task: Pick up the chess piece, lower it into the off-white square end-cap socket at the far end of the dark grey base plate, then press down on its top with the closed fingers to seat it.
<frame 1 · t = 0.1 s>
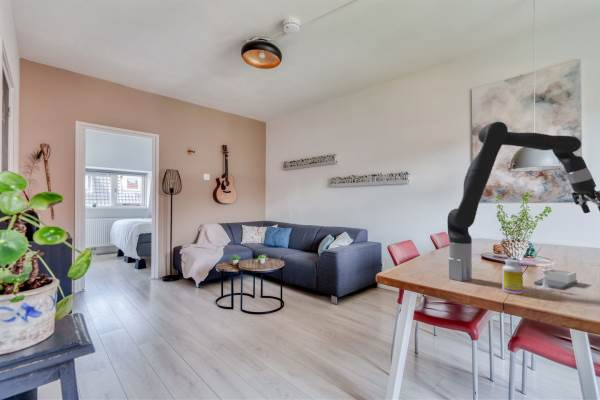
hand: (595, 213, 128), 31 cm above the table, tool tilted 20°, fingers open, 8 cm apart
supplement bottle: (512, 292, 116), on the table
chess piece: (545, 290, 119), on the table
end cap plate: (555, 283, 128), on the table
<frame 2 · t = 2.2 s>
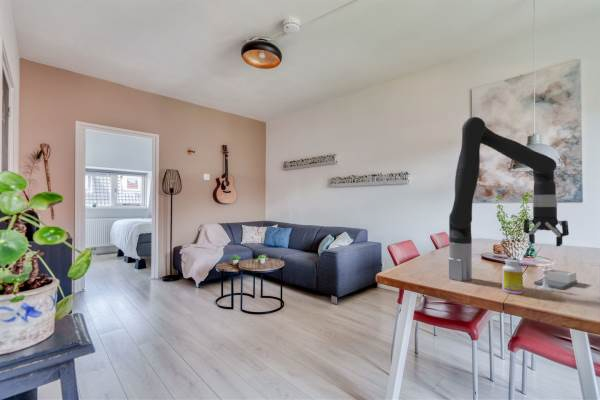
hand: (545, 244, 119), 19 cm above the table, tool pointing down, fingers open, 8 cm apart
nothing on the table moved.
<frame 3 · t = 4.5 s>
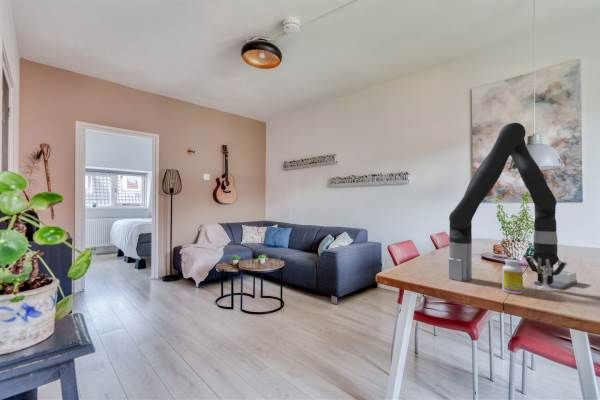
hand: (545, 283, 119), 3 cm above the table, tool pointing down, fingers closed on chess piece
chess piece: (545, 290, 119), on the table, touching gripper
everything else where it was.
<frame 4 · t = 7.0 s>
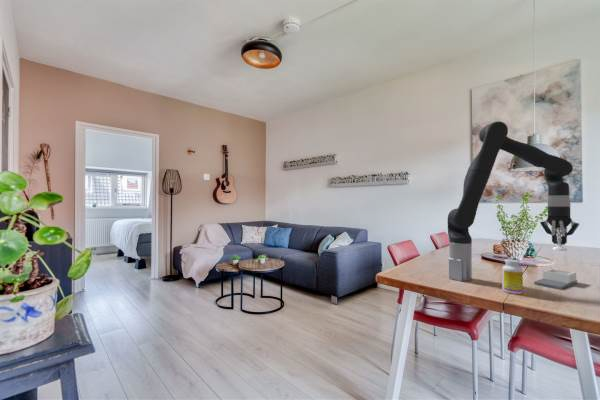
hand: (559, 244, 128), 18 cm above the table, tool pointing down, fingers closed on chess piece
chess piece: (559, 250, 128), point 15 cm above the table, touching gripper
everything else where it was.
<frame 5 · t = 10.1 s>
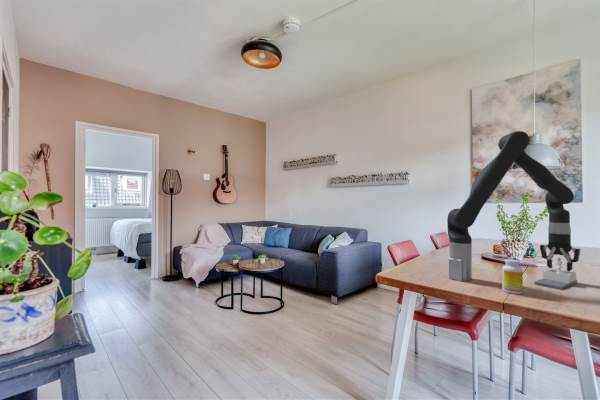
hand: (559, 269, 130), 6 cm above the table, tool pointing down, fingers open, 6 cm apart
chess piece: (559, 279, 130), point 1 cm above the table, touching end cap plate
everything else where it was.
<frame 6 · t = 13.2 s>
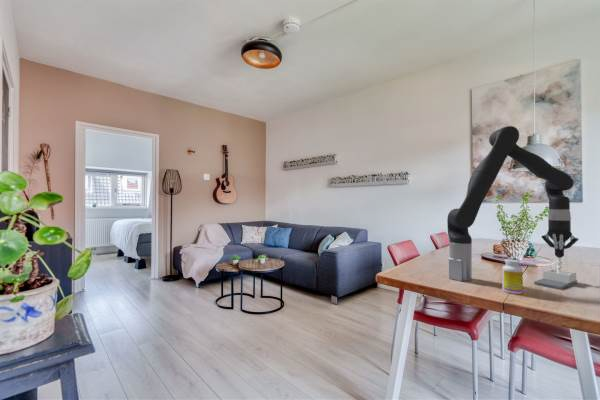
hand: (559, 257, 130), 11 cm above the table, tool pointing down, fingers closed
chess piece: (559, 279, 130), point 1 cm above the table, touching end cap plate, gripper
everything else where it was.
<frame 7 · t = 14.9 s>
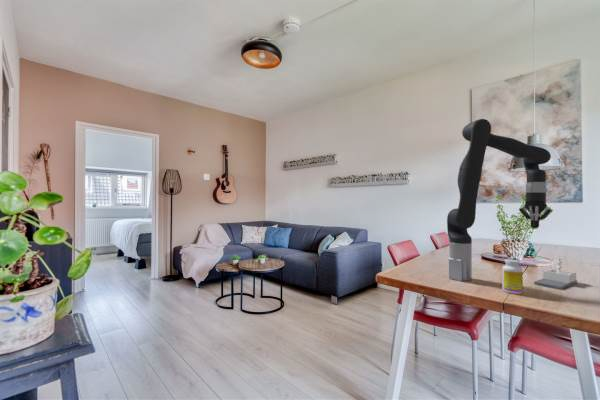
hand: (534, 228, 136), 24 cm above the table, tool pointing down, fingers closed
chess piece: (559, 279, 130), point 1 cm above the table, touching end cap plate
everything else where it was.
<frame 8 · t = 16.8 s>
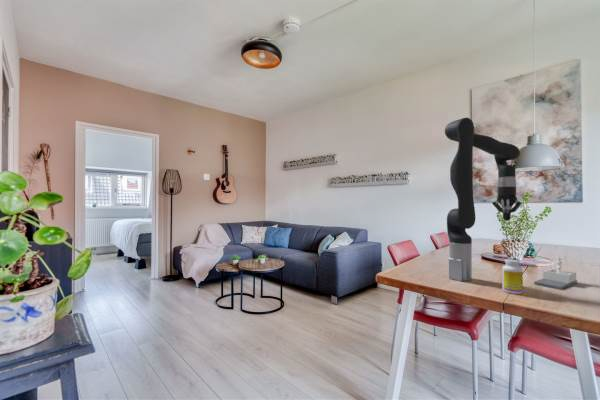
hand: (506, 220, 144), 27 cm above the table, tool pointing down, fingers closed
nothing on the table moved.
at the end: chess piece 0.1 cm from the target spot, point 1.0 cm above the table; chess piece tilted 0°; the gripper is holding nothing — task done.
